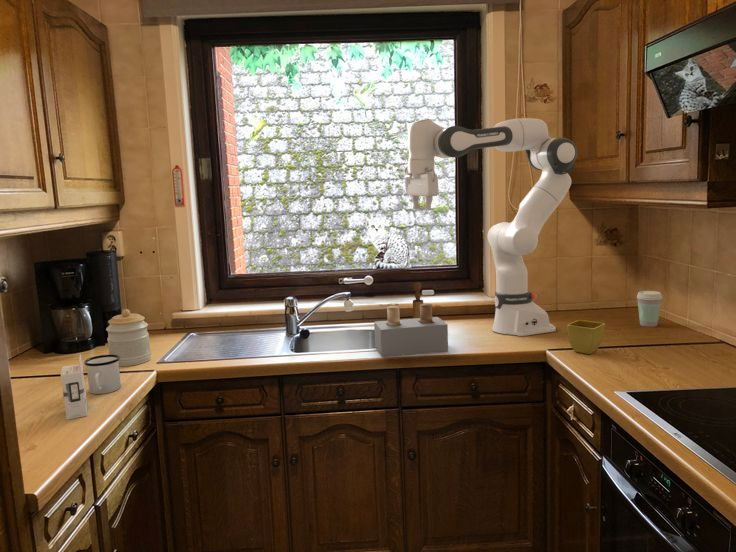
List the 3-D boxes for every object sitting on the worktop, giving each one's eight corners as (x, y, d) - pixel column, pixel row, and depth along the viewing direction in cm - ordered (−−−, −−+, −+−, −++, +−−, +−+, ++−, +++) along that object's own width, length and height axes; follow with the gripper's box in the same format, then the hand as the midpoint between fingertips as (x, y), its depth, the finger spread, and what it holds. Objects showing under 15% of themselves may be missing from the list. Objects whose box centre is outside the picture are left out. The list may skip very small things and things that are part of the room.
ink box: (66, 409, 161) (60, 355, 159) (87, 406, 163) (81, 352, 161) (65, 420, 154) (58, 363, 152) (87, 416, 156) (80, 360, 154)
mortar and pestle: (427, 331, 228) (426, 283, 226) (410, 332, 228) (408, 284, 226) (426, 327, 235) (425, 280, 232) (409, 327, 235) (408, 281, 232)
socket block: (438, 342, 212) (437, 316, 211) (448, 351, 201) (447, 324, 199) (375, 347, 209) (374, 321, 208) (381, 357, 197) (380, 329, 196)
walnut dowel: (430, 328, 207) (430, 303, 206) (434, 331, 203) (433, 305, 202) (419, 329, 206) (418, 304, 205) (422, 332, 202) (421, 306, 201)
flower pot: (605, 350, 194) (605, 322, 193) (593, 357, 188) (594, 328, 187) (578, 346, 200) (578, 319, 199) (566, 352, 194) (566, 324, 193)
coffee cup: (642, 321, 230) (642, 289, 228) (665, 324, 224) (666, 291, 222) (631, 325, 225) (632, 293, 223) (655, 328, 218) (656, 295, 217)
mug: (92, 385, 180) (89, 355, 179) (126, 382, 182) (123, 353, 180) (80, 399, 169) (76, 367, 167) (116, 396, 170) (113, 364, 169)
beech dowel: (398, 331, 205) (397, 305, 204) (401, 334, 201) (400, 307, 200) (387, 332, 205) (386, 306, 203) (389, 335, 201) (388, 308, 200)
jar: (147, 365, 199) (142, 311, 197) (105, 368, 197) (99, 314, 195) (154, 354, 212) (149, 304, 209) (114, 357, 210) (109, 306, 207)
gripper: (443, 167, 200) (443, 210, 202) (418, 169, 220) (419, 208, 222) (425, 167, 198) (425, 210, 201) (401, 169, 218) (402, 208, 220)
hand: (422, 209), depth 211 cm, fingers open, 8 cm apart
